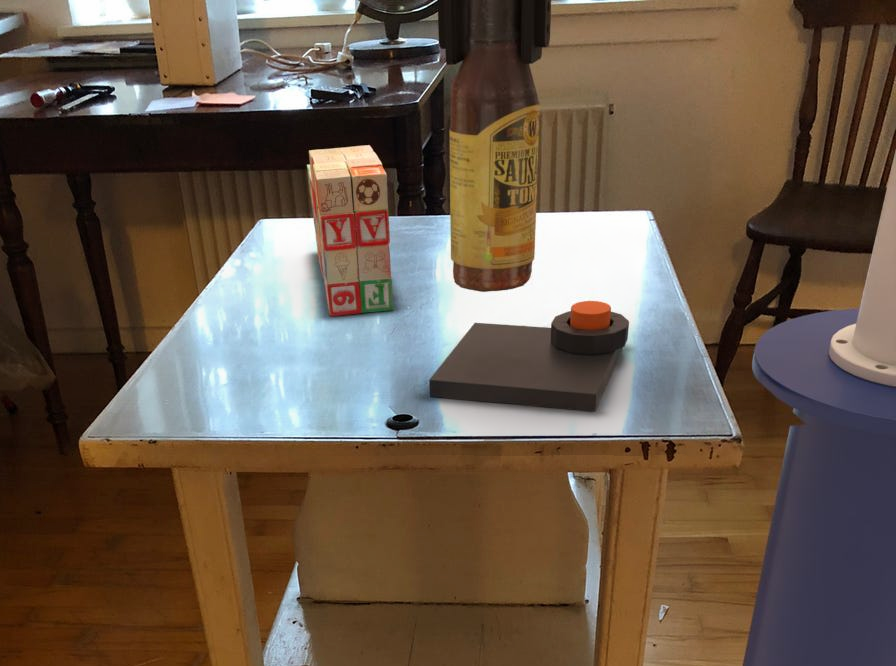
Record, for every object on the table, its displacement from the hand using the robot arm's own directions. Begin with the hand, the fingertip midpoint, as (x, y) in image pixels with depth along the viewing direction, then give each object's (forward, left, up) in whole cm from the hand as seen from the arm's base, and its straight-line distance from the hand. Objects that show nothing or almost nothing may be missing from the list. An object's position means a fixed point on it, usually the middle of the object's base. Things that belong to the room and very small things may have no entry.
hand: (494, 58), depth 65 cm
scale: (-2, -2, -22) cm, 23 cm away
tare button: (-6, -6, -20) cm, 22 cm away
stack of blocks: (+21, -22, -23) cm, 38 cm away
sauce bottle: (0, 0, -15) cm, 15 cm away
